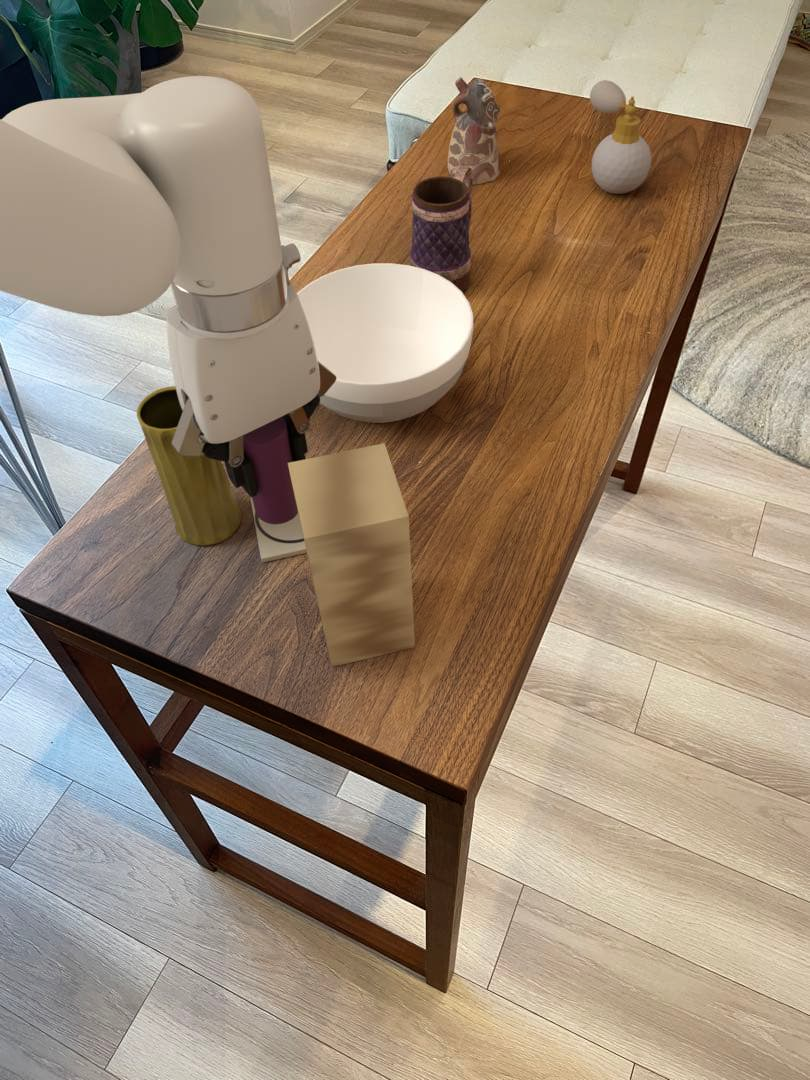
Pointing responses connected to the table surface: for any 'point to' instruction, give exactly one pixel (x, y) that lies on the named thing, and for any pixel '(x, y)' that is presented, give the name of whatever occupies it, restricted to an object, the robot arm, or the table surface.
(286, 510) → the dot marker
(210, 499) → the vase
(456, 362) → the bowl
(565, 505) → the table surface
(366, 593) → the stand
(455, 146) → the figurine
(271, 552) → the sketch card
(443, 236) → the mug
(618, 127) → the perfume bottle
